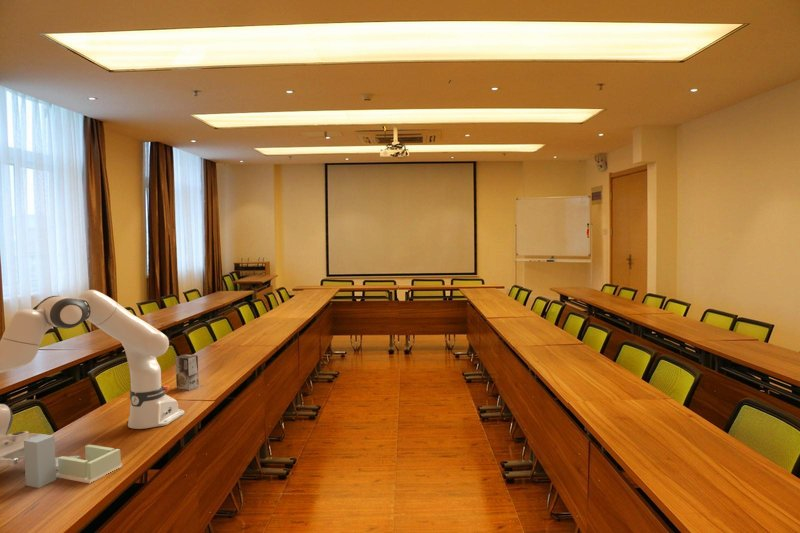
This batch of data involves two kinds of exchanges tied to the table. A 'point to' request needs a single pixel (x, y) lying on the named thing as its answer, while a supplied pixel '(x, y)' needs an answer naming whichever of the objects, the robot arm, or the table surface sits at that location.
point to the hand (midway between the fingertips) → (30, 455)
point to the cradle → (90, 464)
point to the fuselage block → (40, 460)
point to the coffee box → (187, 371)
